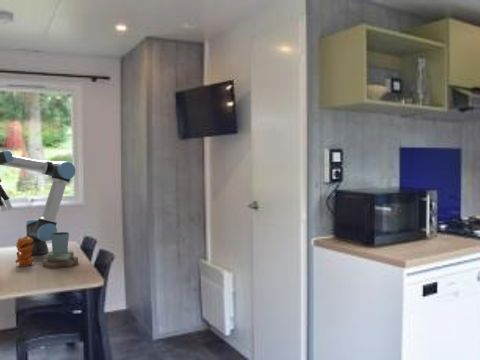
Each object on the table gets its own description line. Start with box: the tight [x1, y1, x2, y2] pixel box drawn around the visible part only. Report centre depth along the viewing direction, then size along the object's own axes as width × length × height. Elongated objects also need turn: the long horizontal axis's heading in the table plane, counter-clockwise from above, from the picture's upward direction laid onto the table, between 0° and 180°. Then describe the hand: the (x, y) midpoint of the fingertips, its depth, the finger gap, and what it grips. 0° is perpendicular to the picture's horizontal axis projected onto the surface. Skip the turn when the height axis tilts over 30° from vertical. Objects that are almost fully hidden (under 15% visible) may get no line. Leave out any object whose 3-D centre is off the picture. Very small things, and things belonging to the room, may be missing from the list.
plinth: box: [42, 249, 79, 269], centre depth 274 cm, size 20×20×7 cm
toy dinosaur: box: [14, 235, 35, 267], centre depth 272 cm, size 11×11×18 cm
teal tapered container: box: [50, 231, 70, 254], centre depth 274 cm, size 10×10×12 cm
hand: (8, 210), depth 271 cm, fingers open, 13 cm apart
